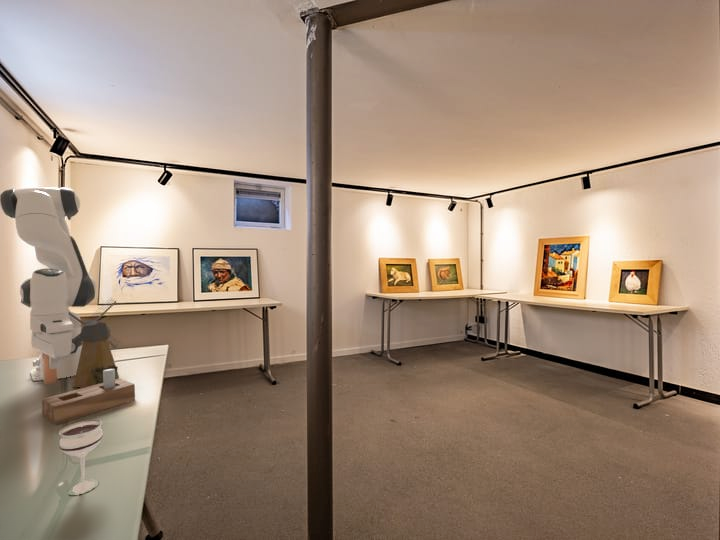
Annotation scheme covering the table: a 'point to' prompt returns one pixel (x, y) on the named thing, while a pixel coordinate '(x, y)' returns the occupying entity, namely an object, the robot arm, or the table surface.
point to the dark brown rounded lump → (101, 374)
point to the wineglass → (81, 445)
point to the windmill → (93, 349)
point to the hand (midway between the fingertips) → (50, 366)
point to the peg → (49, 371)
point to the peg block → (86, 401)
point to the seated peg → (109, 378)
